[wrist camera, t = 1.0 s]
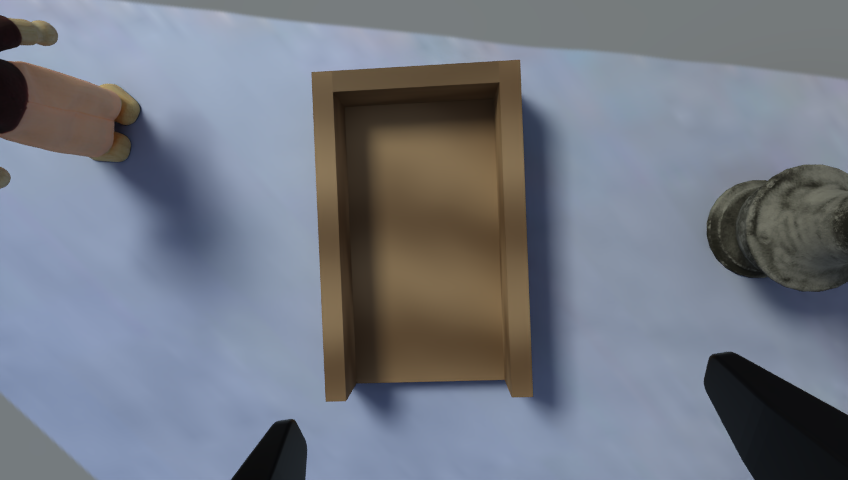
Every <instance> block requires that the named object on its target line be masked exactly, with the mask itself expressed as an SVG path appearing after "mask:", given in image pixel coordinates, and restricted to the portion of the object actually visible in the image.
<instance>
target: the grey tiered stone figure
mask: <svg viewBox="0 0 848 480" xmlns="http://www.w3.org/2000/svg"><path fill="white" fill-rule="evenodd" d="M707 238H708V242H709V246H710V248H711V250H712V252H713V254H714V255H715V257H716V259H717V260H718V261H719V262H720V263H721V264H722V265H723V266H724V267H725V268H727V269H729V270H731V271H732V272H734V273H736V274H739V275H742V276H746V277H750V278H765V277H769V278H770V279H772V280H774V281H775V282H777V283H779V284H781V285H782V286H784V287H788V288H791V289H795V290H799V291H811V292H820V291H824V290H829V289H833V288H837V287H839V286H841V285H842V284H844V283H846V282H848V174H847V173H845V172H844V171H842V170H840V169H837V168H833V167H830V166H826V165H801V166H797V167H794V168H790V169H786V170H784V171H783V172H781V173H779V174H777V175H775V176H773V177H772V178H770V179H769V180H768V181H766V180H752V181H748V182H744V183H740V184H737V185H735V186H734V187H732V188H730V189H728V190H726V191H725V192H724V193H723V194H722V195H721V196H720V197H719V198H718V199H717V200H716V202H715V204H714V205H713V207H712V209H711V210H710V214H709V217H708V221H707Z"/></svg>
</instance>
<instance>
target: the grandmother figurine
mask: <svg viewBox="0 0 848 480" xmlns="http://www.w3.org/2000/svg"><path fill="white" fill-rule="evenodd" d="M57 40H58V34H57V31H56V30H55V28H54V27H53V26H52V25H50V24H49V23H47V22H45V21H40V20H38V21H33V22H29V21H27V20H23V19H12V18H6V17H4V16H1V15H0V52H1V51H4V50H7V49H12V48H15V47H18V46H19V45H34V44H36V43H37V44H39V45H43V46H50V45H53V44H55V43H56V42H57ZM139 113H140V107H139V104H138V103H137V101H136V100H135V99H133V98H132V97H131V96H130V95H129V94H128V93H126V92H125V91H124V90H123V89H122V88H120V87H119V86H117V85H115V84H103V85H100V86H97V85H95V84H92V83H90V82H87V81H84V80H81V79H78V78H75V77H72V76H69V75H66V74H63V73H60V72H56V71H53V70H50V69H47V68H43V67H40V66H36V65H33V64H29V63H26V62H21V61H17V62H13V61H5V60H2V59H0V137H1V138H3V139H6V140H9V141H12V142H17V143H20V144H24V145H28V146H32V147H37V148H41V149H45V150H48V151H53V152H58V153H65V154H73V155H80V156H87V157H90V158H91V159H93V160H97V161H111V162H121V161H124V160H125V159H126V158H127V157H128V156H129V154H130V148H131V143H130V140H129V139H128V137H126V136H125V135H123V134H121V133H118V132H116V131H114V121H115V122H117V123H120V124H123V125H130V124H132V123H134V122H135V121H136V119H137V117H138V115H139ZM10 179H11V177H10V174H9V173H8V171H7V170H5V169H4V168H2V167H0V189H1V188H4V187H5V186H7V185H8V184H9V182H10Z"/></svg>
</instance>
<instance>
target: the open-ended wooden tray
mask: <svg viewBox="0 0 848 480" xmlns="http://www.w3.org/2000/svg"><path fill="white" fill-rule="evenodd" d="M312 95H313V119H314V142H315V165H316V188H317V211H318V234H319V257H320V280H321V303H322V326H323V349H324V372H325V395H326V402H329V401H346V400H347V399H348V397H349V395H350V394H351V392H352V390H353V389H354V387H355V385H356V383H393V382H434V381H474V380H505V382H506V384H507V387H508V389H509V392H510V394H511V396H512V397H533V383H532V357H531V331H530V305H529V279H528V253H527V227H526V201H525V175H524V149H523V123H522V97H521V71H520V60H509V61H492V62H475V63H458V64H442V65H425V66H408V67H391V68H375V69H358V70H341V71H324V72H312Z"/></svg>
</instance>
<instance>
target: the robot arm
mask: <svg viewBox="0 0 848 480" xmlns="http://www.w3.org/2000/svg"><path fill="white" fill-rule="evenodd" d="M704 386H705V390H706V392H707V394H708V396H709V398H710V400H711V402H712V404H713V406H714V407H715V409H716V411H717V413H718V415H719V417H720V419H721V421H722V423H723V425H724V427H725V428H726V430H727V432H728V434H729V436H730V438H731V440H732V442H733V444H734V446H735V448H736V450H737V451H738V453H739V455H740V457H741V459H742V460H743V462H744V464H745V465H746V467H747V469H748V470H749V472H750V473H751V475H752V477H753V478H754V480H848V415H847V414H845V413H843V412H841V411H840V410H838V409H836V408H834V407H832V406H831V405H829V404H827V403H825V402H823V401H821V400H820V399H818V398H816V397H814V396H812V395H811V394H809V393H807V392H805V391H803V390H802V389H800V388H798V387H796V386H794V385H792V384H791V383H789V382H787V381H785V380H783V379H782V378H780V377H778V376H776V375H774V374H773V373H771V372H769V371H767V370H765V369H763V368H762V367H760V366H758V365H756V364H754V363H753V362H751V361H749V360H747V359H745V358H744V357H742V356H740V355H738V354H736V353H733V352H723V353H717V354H712V355H711V356H710V357H709V360H708V364H707V369H706V373H705V377H704ZM306 461H307V444H306V441H305V438H304V436H303V434H302V432H301V430H300V429H299V427H298V425H297V423H296V421H295V420H293V419H288V420H281V421H277V422H275V423H274V424H273V425H272V426H271V427H270V429H269V430H268V431H267V433H266V434H265V435H264V437H263V438H262V439H261V441H260V442H259V443H258V445H257V446H256V447H255V449H254V450H253V451H252V452H251V454H250V455H249V456H248V458H247V459H246V460H245V462H244V463H243V464H242V466H241V467H240V468H239V470H238V471H237V472H236V474H235V475H234V476H233V478H232V479H231V480H305V476H306Z"/></svg>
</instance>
